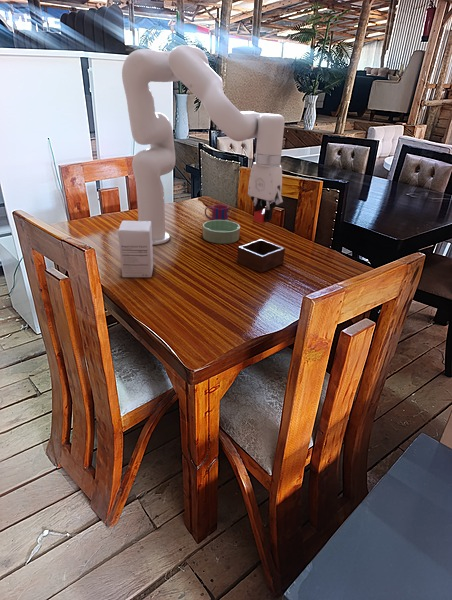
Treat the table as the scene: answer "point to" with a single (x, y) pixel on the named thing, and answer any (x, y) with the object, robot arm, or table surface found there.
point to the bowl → (221, 231)
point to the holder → (260, 255)
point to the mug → (219, 212)
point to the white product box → (136, 248)
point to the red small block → (259, 216)
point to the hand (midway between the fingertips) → (262, 219)
